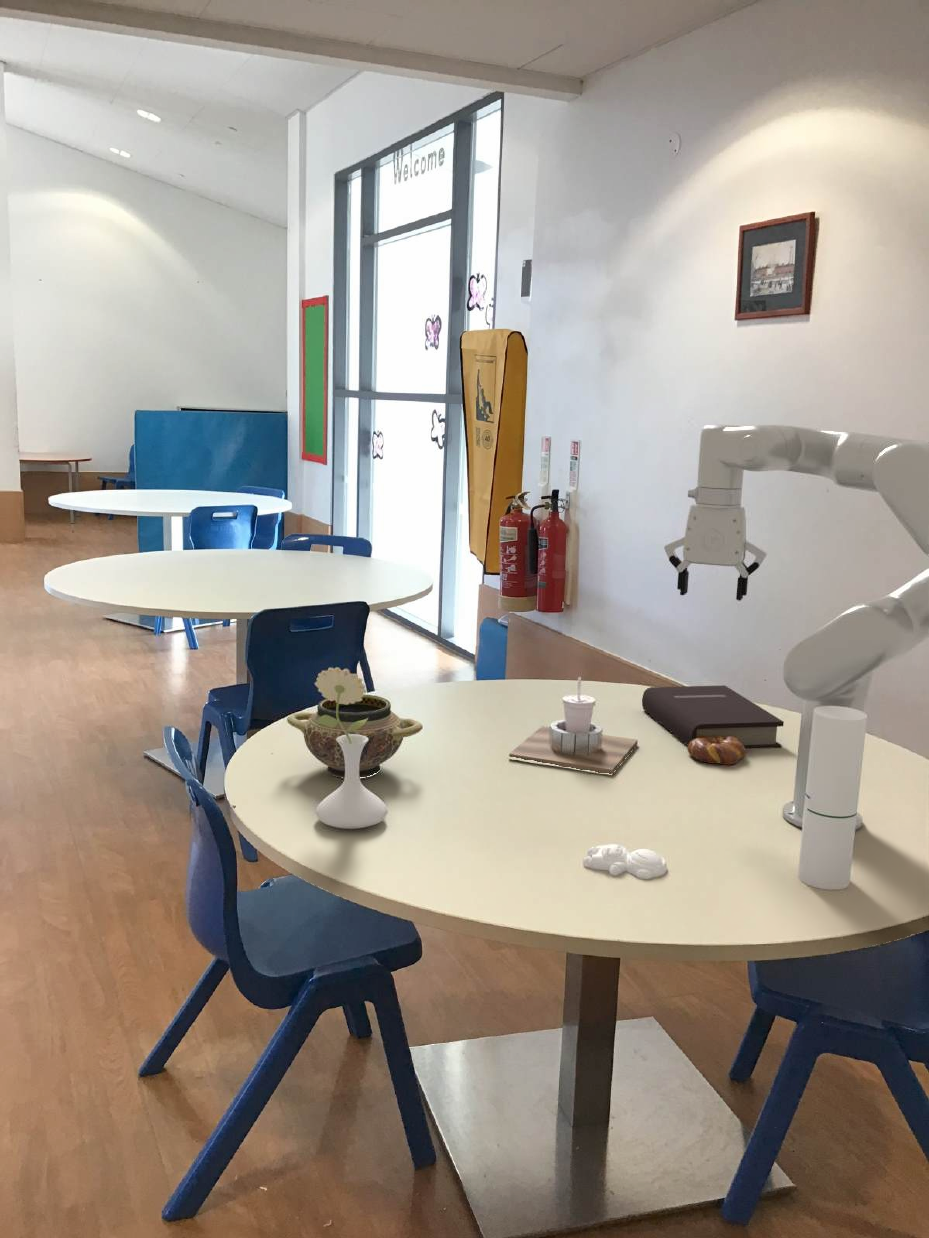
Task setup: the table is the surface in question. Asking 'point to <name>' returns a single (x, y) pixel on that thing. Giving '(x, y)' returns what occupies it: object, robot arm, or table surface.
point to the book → (711, 714)
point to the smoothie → (578, 711)
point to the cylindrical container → (831, 796)
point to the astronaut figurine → (626, 861)
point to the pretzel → (717, 749)
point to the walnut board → (599, 762)
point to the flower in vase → (347, 759)
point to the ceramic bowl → (379, 730)
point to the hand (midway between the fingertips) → (711, 596)
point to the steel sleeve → (575, 739)
